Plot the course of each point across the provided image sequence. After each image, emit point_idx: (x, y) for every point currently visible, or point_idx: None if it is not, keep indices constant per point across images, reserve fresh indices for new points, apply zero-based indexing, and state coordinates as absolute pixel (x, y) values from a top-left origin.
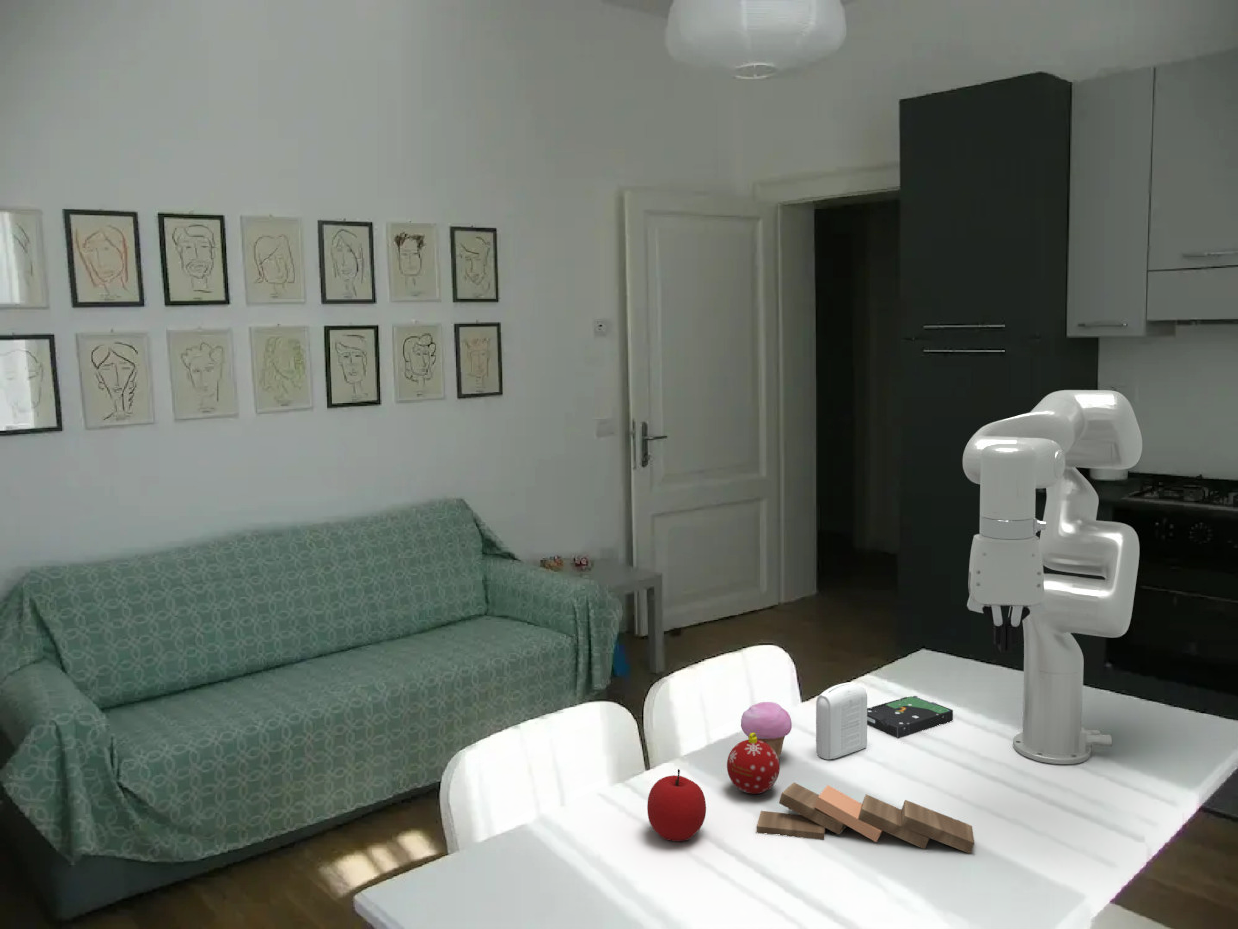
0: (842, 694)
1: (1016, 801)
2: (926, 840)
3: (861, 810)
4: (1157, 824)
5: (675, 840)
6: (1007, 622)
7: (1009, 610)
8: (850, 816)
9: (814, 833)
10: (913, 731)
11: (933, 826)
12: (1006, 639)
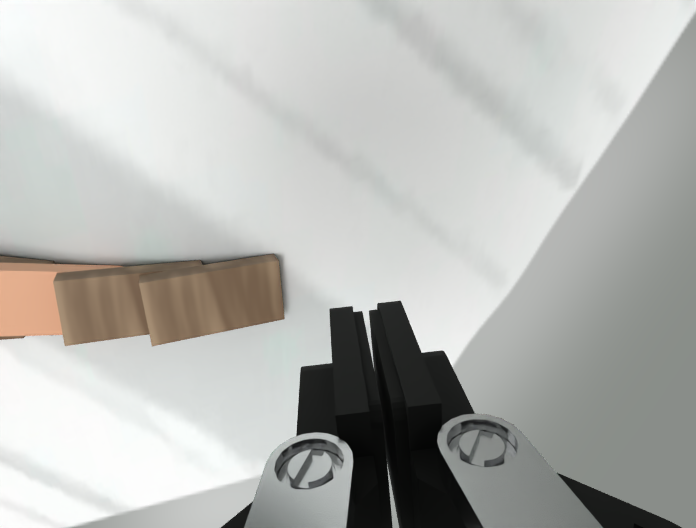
0: None
1: (366, 71)
2: None
3: (65, 344)
4: (623, 106)
5: None
6: (416, 507)
7: (472, 516)
8: (51, 333)
9: (6, 338)
10: None
11: (209, 332)
12: (385, 439)
